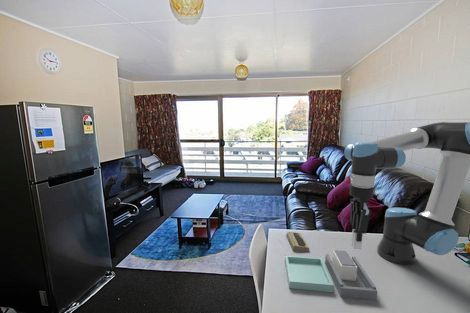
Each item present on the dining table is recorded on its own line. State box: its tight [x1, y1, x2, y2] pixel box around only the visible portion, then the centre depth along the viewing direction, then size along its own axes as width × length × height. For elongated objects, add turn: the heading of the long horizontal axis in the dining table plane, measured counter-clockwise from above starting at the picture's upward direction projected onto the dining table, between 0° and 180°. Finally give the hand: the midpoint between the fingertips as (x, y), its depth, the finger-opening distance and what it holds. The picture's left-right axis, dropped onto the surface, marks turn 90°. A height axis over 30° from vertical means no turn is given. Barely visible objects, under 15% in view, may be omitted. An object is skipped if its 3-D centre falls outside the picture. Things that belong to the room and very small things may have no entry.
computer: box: [286, 231, 310, 252], centre depth 125 cm, size 16×8×3 cm, turn 0°
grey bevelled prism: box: [331, 249, 358, 282], centre depth 102 cm, size 6×12×6 cm, turn 173°
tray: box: [284, 255, 335, 293], centre depth 99 cm, size 16×18×3 cm
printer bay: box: [324, 254, 378, 301], centre depth 96 cm, size 12×21×4 cm, turn 174°
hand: (356, 247), depth 89 cm, fingers closed
